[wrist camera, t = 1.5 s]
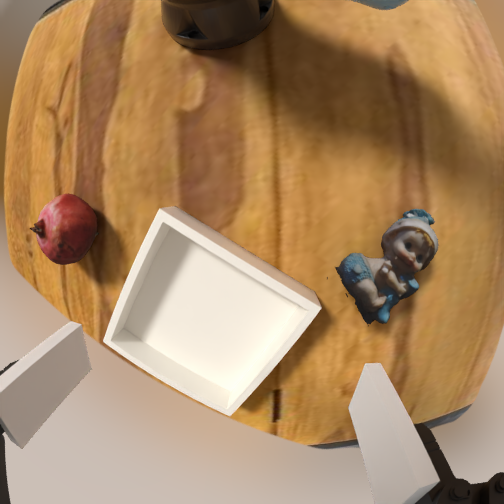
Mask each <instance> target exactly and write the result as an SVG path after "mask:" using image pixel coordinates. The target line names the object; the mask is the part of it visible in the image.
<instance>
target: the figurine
mask: <svg viewBox="0 0 504 504" xmlns="http://www.w3.org/2000/svg"><path fill="white" fill-rule="evenodd" d="M403 216H404V218H402V219H399V220H398V221H397V222H395V223H394V224H393V225H392V226H391V227H390V228H388V230H387V231H386V232H385V233H384V235H383V237H382V242H381V247H382V249H383V251H384V257H383V258H368V257H365V256H364V255H363V254H361V253H352V254H349V256H347V257H346V258H345V259H344V260H343V261H342V262H341V264H340V266H339V267H335V268H336V270H337V273H338V274H340V278H342V280H341V281H342V283H343V285H344V286H345V288H346V289H347V291H348V292H349V294H350V295H352V296H353V297H354V298H355V301H356V302H355V305H357V308H358V311H359V312H360V313H361V315H362V317H363V319H364V321H365V322H366V323H367V324H371V323H372V322H373V321H374V320H376V321H378V322H379V323H382V324H384V323H387V321H388V320H389V317H390V309H391V308H392V307H393V306H394V305H396V304H397V303H398V302H399V300H401V299H403V298H407V297H409V296H411V295H412V294H414V293H415V292H416V291H417V290H418V288H419V285H418V283H417V281H416V280H415V278H414V274H415V273H416V272H419V271H421V270H423V269H425V268H426V267H427V265H428V264H429V263H430V261H431V260H432V259H433V257H434V255H435V254H436V252H437V250H438V239H437V237H436V234H435V232H434V231H433V230H432V229H431V227H430V225H431V224H434V222H435V221H434V219H433V218H432V217H431V215H430V214H429V213H427V212H426V211H425V210H423V209H413V210H410V211H407V212H404V214H403ZM327 279H328V277H327ZM345 294H346V293H345ZM346 295H347V294H346ZM347 297H348V296H347ZM368 326H369V325H368Z"/></svg>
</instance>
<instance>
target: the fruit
mask: <svg viewBox="0 0 504 504" xmlns="http://www.w3.org/2000/svg"><path fill="white" fill-rule="evenodd" d="M34 226H35V227H33V228H30V229H31V230H32V231H33V232H35V233H36V236H37V241H38V244H39V246H40V248H41V250H42V251H43V253H44V254H45V255H46V256H47V257H48V258H49V259H50V260H51V261H53V262H54V263H57V264H61V265H65V264H71V263H75V262H77V261H79V260H81V259H82V258H83V257H84V256H85V255H86V253H87V252H88V250H89V249H90V247H91V245H92V243H93V241H94V239H95V236H96V235H98V234H99V233H98V232H97V218H96V215H95V213H94V211H93V209H92V208H91V207H90V206H89V205H88V204H87V203H86V202H85V201H84V200H82V199H81V198H79V197H77V196H75V195H73V194H63V195H60V196H57V197H56V198H54V199H53V200H52V201H50V202H49V203H47V204H46V206H45V207H44V208H43V209H42V211H41V213H40V215H39V219H38V222H37V223H35V224H34Z"/></svg>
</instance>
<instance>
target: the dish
mask: <svg viewBox="0 0 504 504" xmlns="http://www.w3.org/2000/svg"><path fill="white" fill-rule="evenodd" d="M321 308H322V307H321V305H320V303H319V300H318V298H317V296H316V294H315V292H314V291H313V290H311V289H309V288H308V287H306V286H304V285H303V284H301V283H299V282H298V281H296V280H295V279H293V278H291V277H290V276H288V275H286V274H285V273H283V272H282V271H280V270H278V269H277V268H275V267H273V266H272V265H270V264H269V263H267V262H265V261H264V260H262V259H260V258H259V257H257V256H256V255H254V254H252V253H251V252H249V251H247V250H246V249H244V248H243V247H241V246H239V245H238V244H236V243H234V242H233V241H231V240H230V239H228V238H226V237H225V236H223V235H221V234H220V233H218V232H217V231H215V230H213V229H212V228H210V227H208V226H207V225H205V224H204V223H202V222H200V221H199V220H197V219H195V218H194V217H192V216H191V215H189V214H187V213H186V212H184V211H182V210H181V209H179V208H178V207H176V206H173V207H166V208H160V209H159V211H158V213H157V215H156V217H155V219H154V221H153V223H152V225H151V227H150V229H149V231H148V233H147V235H146V237H145V239H144V241H143V243H142V246H141V248H140V250H139V252H138V254H137V257H136V259H135V261H134V263H133V266H132V268H131V270H130V272H129V275H128V277H127V280H126V282H125V284H124V287H123V289H122V292H121V294H120V297H119V299H118V302H117V304H116V307H115V310H114V312H113V315H112V318H111V320H110V323H109V326H108V329H107V332H106V334H105V337H104V340H103V342H104V343H106V344H107V345H109V346H110V347H111V348H113V349H114V350H115V351H117V352H118V353H120V354H121V355H123V356H124V357H125V358H127V359H128V360H130V361H131V362H133V363H134V364H136V365H137V366H139V367H140V368H142V369H144V370H145V371H147V372H148V373H150V374H152V375H153V376H155V377H156V378H158V379H160V380H161V381H163V382H165V383H167V384H168V385H170V386H172V387H173V388H175V389H177V390H179V391H181V392H182V393H184V394H186V395H188V396H190V397H192V398H194V399H196V400H197V401H199V402H201V403H203V404H205V405H207V406H209V407H211V408H213V409H216V410H218V411H220V412H222V413H224V414H226V415H228V416H231V415H232V414H233V413H234V412H235V411H236V409H237V408H238V407H239V406H240V405H241V404H242V403H243V402H244V401H245V400H246V399H247V398H248V397H249V396H250V394H251V393H252V392H253V391H254V390H255V389H256V388H257V387H258V386H259V384H260V383H261V382H262V381H263V380H264V379H265V378H266V377H267V375H268V374H269V373H270V372H271V371H272V370H273V368H274V367H275V366H276V365H277V364H278V363H279V361H280V360H281V359H282V358H283V357H284V355H285V354H286V353H287V352H288V351H289V349H290V348H291V347H292V346H293V344H294V343H295V342H296V341H297V339H298V338H299V337H300V336H301V334H302V333H303V332H304V331H305V329H306V328H307V327H308V325H309V324H310V323H311V322H312V320H313V319H314V318H315V316H316V315H317V314H318V312H319V311H320V310H321Z"/></svg>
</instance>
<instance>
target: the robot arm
mask: <svg viewBox="0 0 504 504" xmlns="http://www.w3.org/2000/svg"><path fill="white" fill-rule="evenodd" d="M351 1H354V2H357V3H361V4H364V5H366V6H369V7H372V8H375V9H379V10H390V9H394V8H396V7H398V6H401V5H403V4H404V3H406V2H407V1H408V0H351ZM161 11H162V21H163V24H164V27H165V28H166V30H167V31H168V33H169V34H170V36H171V37H172V38H173V39H174V40H175V41H177V42H178V43H180V44H182V45H184V46H187V47H190V48H194V49H202V50H213V49H222V48H227V47H231V46H235V45H238V44H241V43H243V42H245V41H248V40H249V39H251V38H253V37H255V36H256V35H258V34H259V33H260V32H262V31H263V30H264V29H265V28H266V27H267V25H268V24H269V23H270V21H271V19H272V17H273V13H274V0H161ZM91 369H92V368H91V365H90V361H89V357H88V352H87V348H86V344H85V339H84V334H83V329H82V324H78V323H75V322H72V321H70V322H69V323H67V324H66V325H64V326H63V327H62V328H60V329H59V330H58V331H57V332H55V333H54V334H52V335H51V336H50V337H48V338H47V339H46V340H45V341H43V342H42V343H41V344H39V345H38V346H37V347H35V348H34V349H33V350H32V351H30V352H29V353H28V354H26V355H25V356H24V357H23V358H21V359H20V360H17V361H15V362H13V363H10V364H9V365H8V366H7V367H5V368H4V370H2V371H0V504H11V503H10V498H9V491H8V484H7V476H6V462H5V440H4V436H3V435H2V434H3V433H4V432H6V434H7V435H8V437H9V438H10V440H11V441H12V442H14V443H15V444H16V445H17V446H19V447H20V448H21V449H23V448H24V446H25V445H26V444H27V443H28V441H29V440H30V439H31V438H32V437H33V435H34V434H35V433H36V432H37V431H38V429H39V428H40V427H41V426H42V425H43V423H44V422H45V421H46V420H47V419H48V418H49V416H50V415H51V414H52V413H53V412H54V411H55V410H56V408H57V407H58V406H59V405H60V404H61V403H62V401H63V400H64V399H65V398H66V397H67V396H68V395H69V394H70V392H71V391H72V390H73V389H74V388H75V387H76V386H77V385H78V384H79V383H80V381H81V380H82V379H83V378H84V377H85V376H86V375H87V374H88V372H90V370H91ZM348 408H349V412H350V415H351V418H352V422H353V425H354V428H355V432H356V435H357V439H358V442H359V446H360V449H361V453H362V456H363V460H364V464H365V468H366V471H367V475H368V479H369V483H370V486H371V491H372V495H373V499H374V503H375V504H504V473H503V472H500V473H497V474H495V475H494V476H493V477H492V478H491V479H490V480H489V481H488V482H484V483H477V484H470V483H468V481H466V480H464V479H457V478H455V476H454V475H453V473H452V471H451V469H450V466H449V464H448V462H447V460H446V458H445V457H444V454H443V453H442V451H441V450H440V447H439V445H438V443H437V442H436V439H435V437H434V435H433V434H432V432H431V430H430V429H429V428H427V427H426V426H425V425H424V424H423V423H419V424H414V425H413V423H412V421H411V419H410V417H409V415H408V413H407V411H406V409H405V407H404V405H403V403H402V402H401V400H400V398H399V396H398V394H397V392H396V390H395V389H394V387H393V385H392V383H391V381H390V379H389V378H388V376H387V374H386V372H385V370H384V369H383V367H382V365H381V363H365V365H364V368H363V371H362V374H361V376H360V379H359V382H358V385H357V387H356V390H355V392H354V395H353V397H352V400H351V402H350V405H349V407H348Z"/></svg>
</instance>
